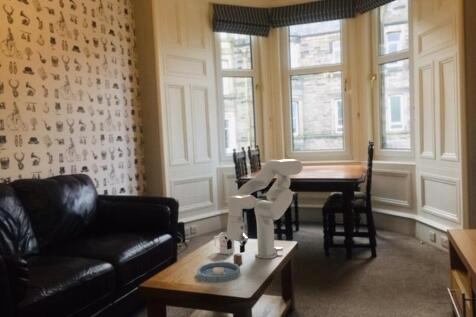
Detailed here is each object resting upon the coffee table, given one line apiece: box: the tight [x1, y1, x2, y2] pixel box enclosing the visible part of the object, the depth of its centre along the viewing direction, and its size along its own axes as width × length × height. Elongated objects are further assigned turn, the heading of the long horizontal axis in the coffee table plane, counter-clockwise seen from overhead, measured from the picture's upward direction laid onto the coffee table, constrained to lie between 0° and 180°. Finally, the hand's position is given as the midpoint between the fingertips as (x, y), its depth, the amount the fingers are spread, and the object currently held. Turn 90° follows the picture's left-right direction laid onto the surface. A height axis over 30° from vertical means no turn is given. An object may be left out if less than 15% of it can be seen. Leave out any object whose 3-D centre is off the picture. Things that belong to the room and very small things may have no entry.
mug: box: [213, 231, 236, 255], centre depth 240 cm, size 12×9×11 cm
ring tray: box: [196, 261, 241, 283], centre depth 205 cm, size 21×21×3 cm
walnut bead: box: [233, 253, 243, 267], centre depth 219 cm, size 4×4×5 cm
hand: (235, 250), depth 218 cm, fingers open, 9 cm apart
